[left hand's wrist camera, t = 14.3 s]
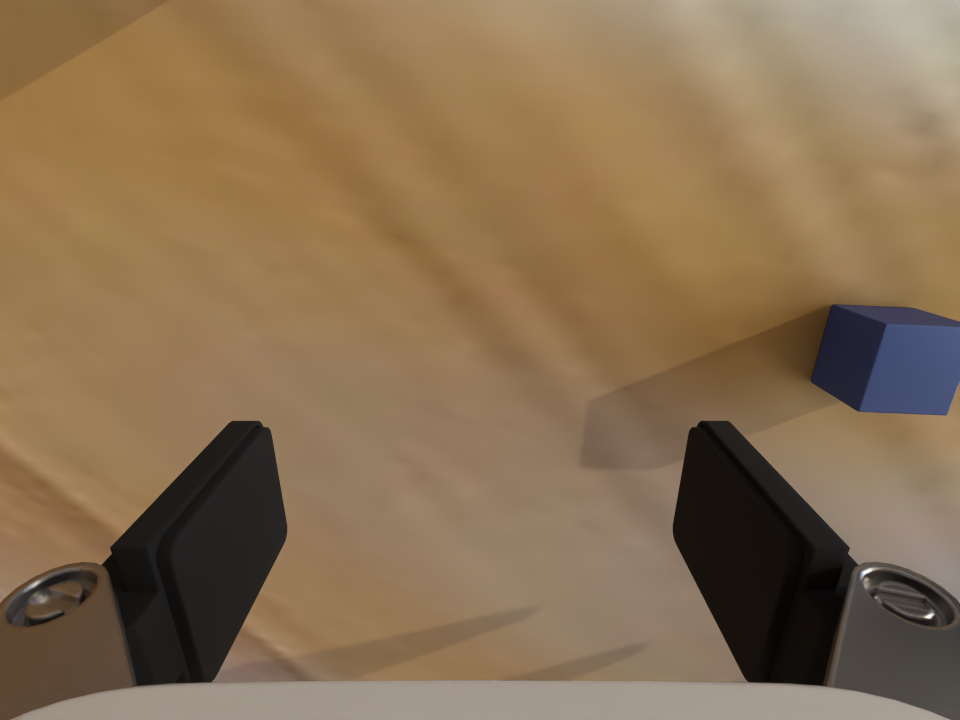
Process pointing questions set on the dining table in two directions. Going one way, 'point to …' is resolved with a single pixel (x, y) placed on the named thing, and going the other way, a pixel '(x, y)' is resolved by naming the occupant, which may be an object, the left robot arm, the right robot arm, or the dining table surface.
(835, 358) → the block
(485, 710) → the left robot arm
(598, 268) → the dining table surface
